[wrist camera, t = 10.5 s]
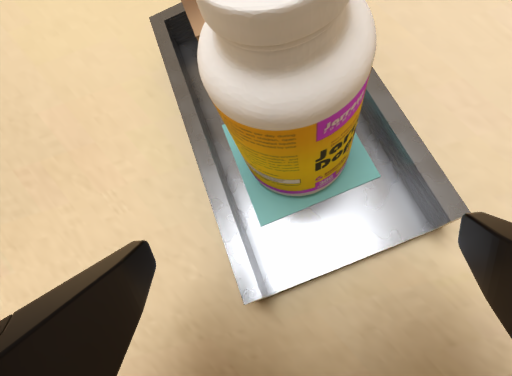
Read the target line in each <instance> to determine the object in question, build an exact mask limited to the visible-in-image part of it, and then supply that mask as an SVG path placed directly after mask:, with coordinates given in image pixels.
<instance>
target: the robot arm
mask: <svg viewBox="0 0 512 376" xmlns="http://www.w3.org/2000/svg"><path fill="white" fill-rule="evenodd" d="M458 243H459V247H460V249H461V251H462V253H463V255H464V257H465V259H466V261H467V263H468V265H469V267H470V269H471V271H472V273H473V275H474V277H475V279H476V281H477V283H478V285H479V287H480V289H481V291H482V293H483V295H484V296H485V298H486V300H487V301H488V303H489V305H490V306H491V308H492V309H493V311H494V313H495V314H496V316H497V317H498V319H499V320H500V322H501V323H502V325H503V326H504V328H505V329H506V331H507V332H508V334H509V335H510V337H511V338H512V223H511V222H508V221H506V220H503V219H500V218H497V217H495V216H492V215H489V214H486V213H483V212H474V213H465V214H464V215H463V216H462V218H461V224H460V230H459V237H458ZM155 269H156V261H155V258H154V256H153V253H152V251H151V248H150V246H149V244H148V242H147V241H145V240H142V241H133V242H131V243H129V244H128V245H126V246H124V247H123V248H121V249H119V250H118V251H116V252H114V253H113V254H111V255H109V256H108V257H106V258H104V259H103V260H101V261H99V262H98V263H96V264H94V265H93V266H91V267H89V268H88V269H86V270H84V271H83V272H81V273H79V274H78V275H76V276H74V277H73V278H71V279H69V280H68V281H66V282H64V283H63V284H61V285H59V286H57V287H56V288H54V289H52V290H51V291H49V292H47V293H46V294H44V295H42V296H41V297H39V298H37V299H36V300H34V301H32V302H31V303H29V304H27V305H26V306H24V307H22V308H21V309H19V310H17V311H16V312H14V313H13V315H9V316H7V317H6V318H4V319H2V320H1V321H0V376H117V374H118V371H119V369H120V367H121V364H122V362H123V359H124V357H125V354H126V352H127V349H128V347H129V345H130V342H131V340H132V337H133V335H134V332H135V330H136V328H137V325H138V323H139V320H140V318H141V315H142V312H143V309H144V306H145V303H146V299H147V296H148V293H149V289H150V286H151V283H152V279H153V276H154V272H155Z"/></svg>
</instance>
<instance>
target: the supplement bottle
mask: <svg viewBox="0 0 512 376" xmlns="http://www.w3.org/2000/svg"><path fill="white" fill-rule="evenodd" d="M196 2H197V4H198V7H199V10H200V12H201V15H202V17H203V19H204V20H205V23H204V25H203V27H202V30H201V33H200V37H199V41H198V49H197V62H198V68H199V74H200V77H201V80H202V82H203V85H204V87H205V89H206V91H207V93H208V95H209V97H210V99H211V100H212V102H213V104H214V105H215V107H216V109H217V111H218V113H219V114H220V116H221V118H222V120H223V122H224V124H225V125H226V127H227V129H228V131H229V133H230V134H231V136H232V138H233V140H234V142H235V144H236V145H237V147H238V149H239V151H240V153H241V155H242V156H243V158H244V160H245V162H246V164H247V166H248V167H249V169H250V171H251V172H252V174H253V175H254V177H255V178H256V179H257V180H258V181H259V182H260V183H261V184H262V185H263V186H265V187H266V188H268V189H269V190H271V191H273V192H276V193H279V194H282V195H287V196H305V195H309V194H313V193H316V192H318V191H320V190H322V189H324V188H326V187H327V186H329V185H330V184H331V183H332V182H333V181H335V180H336V178H337V177H338V176H339V175H340V174H341V172H342V170H343V169H344V167H345V165H346V162H347V159H348V156H349V153H350V149H351V146H352V142H353V138H354V135H355V130H356V126H357V123H358V118H359V114H360V110H361V107H362V103H363V99H364V95H365V91H366V87H367V83H368V80H369V76H370V72H371V68H372V64H373V60H374V55H375V50H376V28H375V23H374V19H373V15H372V13H371V10H370V8H369V6H368V4H367V3H366V1H365V0H196Z"/></svg>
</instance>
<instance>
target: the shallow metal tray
mask: <svg viewBox="0 0 512 376" xmlns="http://www.w3.org/2000/svg"><path fill="white" fill-rule="evenodd" d="M149 19H150V22H151V25H152V28H153V31H154V34H155V37H156V40H157V43H158V46H159V49H160V52H161V55H162V58H163V61H164V64H165V67H166V70H167V73H168V76H169V79H170V82H171V85H172V88H173V91H174V94H175V97H176V100H177V103H178V106H179V109H180V112H181V115H182V118H183V121H184V125H185V128H186V131H187V134H188V137H189V140H190V143H191V146H192V149H193V152H194V155H195V158H196V161H197V164H198V167H199V170H200V173H201V176H202V179H203V182H204V185H205V188H206V191H207V194H208V197H209V200H210V203H211V206H212V209H213V212H214V215H215V218H216V221H217V224H218V227H219V230H220V233H221V236H222V239H223V242H224V245H225V248H226V252H227V255H228V258H229V261H230V264H231V267H232V270H233V273H234V276H235V279H236V282H237V285H238V288H239V291H240V294H241V297H242V300H243V303H244V305H245V304H249V303H253V302H256V301H259V300H262V299H264V298H267V297H269V296H272V295H274V294H276V293H279V292H281V291H284V290H286V289H289V288H291V287H294V286H296V285H299V284H301V283H304V282H306V281H309V280H311V279H314V278H316V277H319V276H321V275H324V274H326V273H329V272H331V271H334V270H336V269H339V268H341V267H344V266H346V265H349V264H351V263H354V262H356V261H359V260H361V259H363V258H366V257H368V256H371V255H373V254H376V253H378V252H381V251H383V250H386V249H388V248H391V247H393V246H396V245H398V244H401V243H403V242H406V241H408V240H411V239H413V238H416V237H418V236H421V235H423V234H426V233H428V232H431V231H433V230H436V229H438V228H441V227H443V226H445V225H447V224H449V223H452V222H454V221H456V220H458V219H460V218H462V216H463V215H464V214H465V213H471V212H470V211H469V209H468V208H467V206H466V205H465V203H464V202H463V201H462V199H461V198H460V196H459V195H458V193H457V192H456V190H455V189H454V187H453V186H452V184H451V183H450V181H449V180H448V178H447V177H446V175H445V174H444V172H443V171H442V169H441V168H440V166H439V165H438V163H437V162H436V161H435V159H434V158H433V156H432V155H431V153H430V152H429V150H428V149H427V147H426V146H425V144H424V143H423V141H422V140H421V138H420V137H419V135H418V134H417V132H416V131H415V129H414V128H413V126H412V125H411V124H410V122H409V121H408V119H407V118H406V116H405V115H404V113H403V112H402V110H401V109H400V107H399V106H398V104H397V103H396V101H395V100H394V98H393V97H392V95H391V94H390V92H389V91H388V89H387V88H386V86H385V85H384V84H383V82H382V81H381V79H380V78H379V76H378V75H377V73H376V72H375V70H374V69H373V67H372V68H371V72H370V76H369V80H368V83H367V87H366V91H365V95H364V99H363V103H362V107H361V110H360V114H359V118H358V123H357V126H356V130H355V135H354V138H353V142H352V146H351V149H350V153H349V156H348V159H347V162H346V165H345V167H344V169H343V170H342V172H341V174H340V175H339V176H338V177H337V178H336V180H335V181H333V182H332V183H331V184H330V185H329V186H327V187H326V188H324V189H322V190H320V191H318V192H316V193H313V194H309V195H305V196H287V195H282V194H279V193H276V192H273V191H271V190H269V189H268V188H266V187H265V186H263V185H262V184H261V183H260V182H259V181H258V180H257V179H256V178H255V177H254V175H253V174H252V172H251V171H250V169H249V167H248V166H247V164H246V162H245V160H244V158H243V156H242V155H241V153H240V151H239V149H238V147H237V145H236V144H235V142H234V140H233V138H232V136H231V134H230V133H229V131H228V129H227V127H226V125H225V124H224V122H223V120H222V118H221V116H220V114H219V113H218V111H217V109H216V107H215V105H214V104H213V102H212V100H211V99H210V97H209V95H208V93H207V91H206V89H205V87H204V85H203V82H202V80H201V77H200V74H199V68H198V62H197V49H198V41H197V38H196V36H195V34H194V31H193V29H192V26H191V24H190V21H189V19H188V16H187V14H186V11H185V9H184V6H183V4H182V2H181V3H179V4H177V5H175V6H173V7H170V8H168V9H166V10H164V11H162V12H160V13H158V14H156V15H154V16H151V17H149Z"/></svg>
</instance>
